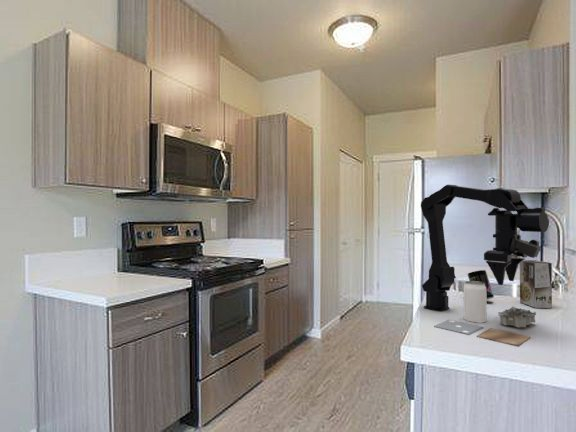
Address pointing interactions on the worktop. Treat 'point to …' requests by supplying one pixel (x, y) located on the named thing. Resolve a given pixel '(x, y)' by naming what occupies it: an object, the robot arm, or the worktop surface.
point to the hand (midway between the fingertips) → (506, 282)
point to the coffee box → (536, 283)
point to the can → (475, 301)
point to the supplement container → (482, 277)
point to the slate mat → (458, 327)
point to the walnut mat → (504, 337)
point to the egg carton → (517, 317)
